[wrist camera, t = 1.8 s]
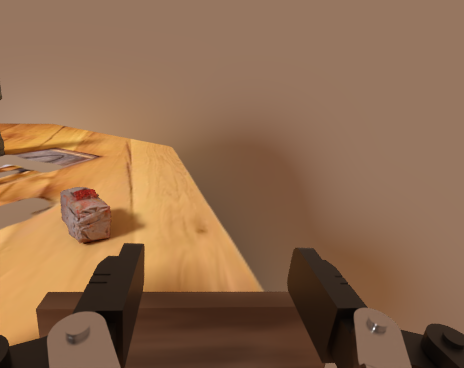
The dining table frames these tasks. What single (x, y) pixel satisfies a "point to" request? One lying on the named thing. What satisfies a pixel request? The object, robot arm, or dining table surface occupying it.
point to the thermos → (0, 141)
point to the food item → (85, 214)
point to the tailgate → (206, 330)
